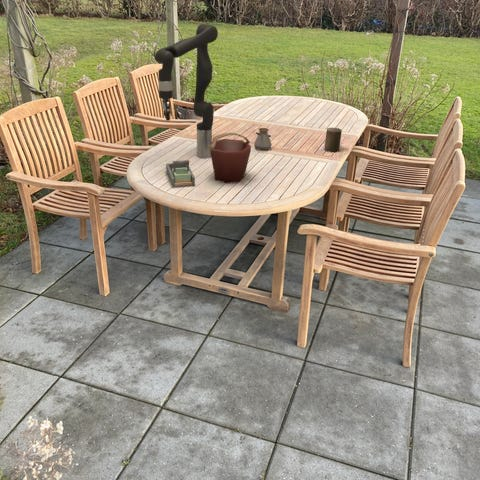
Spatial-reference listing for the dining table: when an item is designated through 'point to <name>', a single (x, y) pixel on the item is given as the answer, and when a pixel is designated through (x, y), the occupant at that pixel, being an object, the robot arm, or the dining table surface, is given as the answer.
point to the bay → (172, 180)
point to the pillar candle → (333, 139)
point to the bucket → (229, 158)
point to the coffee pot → (262, 140)
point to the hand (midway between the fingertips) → (166, 118)
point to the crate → (181, 172)
